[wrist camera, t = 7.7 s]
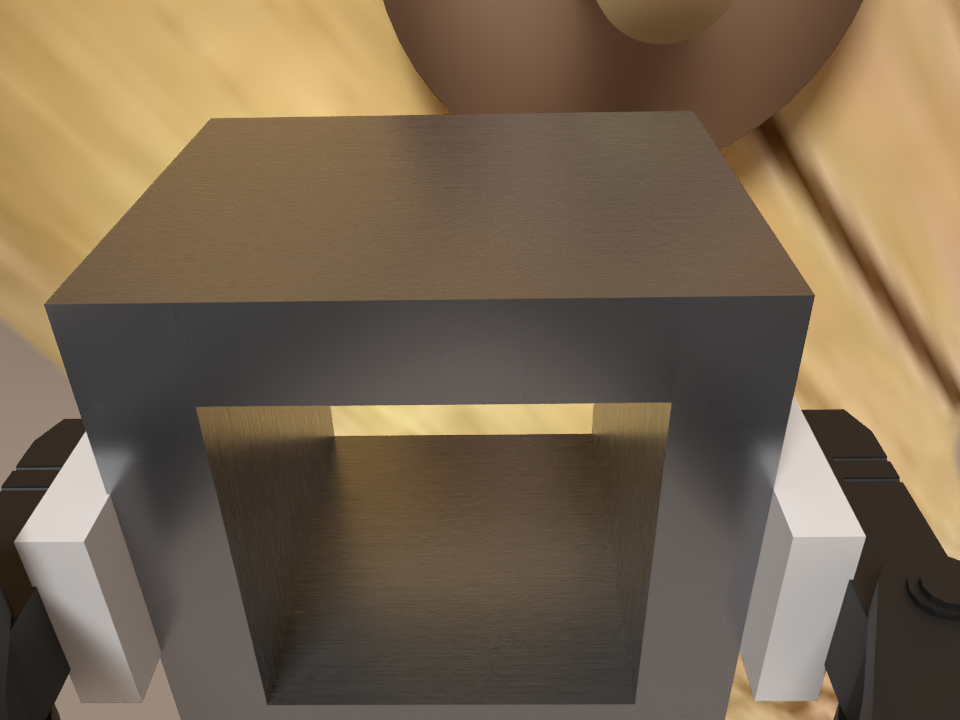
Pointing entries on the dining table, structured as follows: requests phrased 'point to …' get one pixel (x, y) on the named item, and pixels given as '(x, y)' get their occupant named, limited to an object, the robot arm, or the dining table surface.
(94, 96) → the dining table surface
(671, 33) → the round base with post
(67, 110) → the dining table surface
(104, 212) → the dining table surface
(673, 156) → the hollow square box
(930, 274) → the dining table surface
